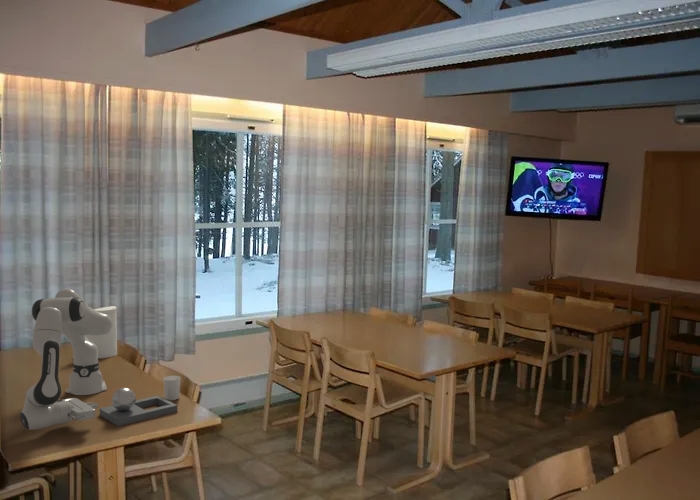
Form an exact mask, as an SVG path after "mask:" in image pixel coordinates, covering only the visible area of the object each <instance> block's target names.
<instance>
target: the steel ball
mask: <svg viewBox="0 0 700 500" xmlns="http://www.w3.org/2000/svg"><path fill="white" fill-rule="evenodd" d="M136 400H137V398H136V394H135V392H134V391H133V389H131V388H128V387H121V388H118V389H116V390H115V391H114V392H113V394H112V397H111V404H112V406H114V407H115V408H116V409H117V410H120V411H126V410H129V409H130V408H132V407H133V405H134V404H135V401H136Z"/></svg>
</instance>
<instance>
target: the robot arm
mask: <svg viewBox="0 0 700 500" xmlns="http://www.w3.org/2000/svg"><path fill="white" fill-rule="evenodd" d="M94 309H95V308H92V307H90V306H89V305H87V304H86V302H85V300H83V298H82V297H81V296H80V294H78V293H77V292H76V291H74V290H73V289H71V288H62V289H60V290H59V291H58V292H56V294H55V296H54V297H52V298H39V299H38V300H36V301H34V303H33V304H32V307H31V315H32V319H33V320H35V323H34V328H33V334H32V346H33V349H34V350H35V351H36V352H37V353H38V354H39V355H40V356H41V369H40V378H39V380H38V381H37V383H35V384H33V385H31V386H29V388H28V389H27V390H26V393H25V399H24V405H23V409H22V410H21V411H20V415H19V417H20V418H19V419H20V422H21V425H22V427H24V428H25V429H26V430H29V431H31V430H41V429H45V428H46V429H47V428H48V427H51V426H58V425H63V424H66V423H70V422H72V420H75V421H86V420H92V419H94V418H95V417H96V409H98V408H99V404H98V403H96V402H83V401H82V400H80V399H79V398H77V397H70V398H65V399H64V398H63V399H61V395H62V385H61V383H60V379H59V367H60V366H59V364H60V351H61V350H60V349H61V343H62V337H63V335H64V336H65V338H66V339H67V340H68V341H69V343H70V344H71V347H72V355H73V363H72V373H71V374H70V375H69V387H68V388H67V389H66V390H65V393H67V394H71V395H74V396H75V395H76V396H91V395H95V394H98V393H102V392H104V391H107V384H106V381H105V380H104V379H103V373H102V372H101V371H100V362H99V360H98V359H99V358H98V348H97V346H96V345H95V344H94V343H93V342H91V341H89V340H88V339H87V337H86V335H89V336H98V335H104V334H108V333H109V332H110V330H111V329H112V325H113V323H112V319H111V317H110V316H109V315H107V314H103V313H100V312H98V311H96V310H94Z"/></svg>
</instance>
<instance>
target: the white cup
mask: <svg viewBox="0 0 700 500" xmlns="http://www.w3.org/2000/svg"><path fill="white" fill-rule="evenodd" d="M163 391H164V399H166V400H168V401H176V399H177V400H179V399H180V394H181V393H180V392H181V376H179V375H167V376H165V377H163Z"/></svg>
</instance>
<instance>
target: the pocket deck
mask: <svg viewBox="0 0 700 500" xmlns="http://www.w3.org/2000/svg"><path fill="white" fill-rule="evenodd" d="M156 405H158V407H154V408H149V409H146V410H145V409H144V408H146V407H151V406H156ZM177 412H178V404H176V403H173V402H172V401H171V400H166V399H165V397H161V396H160V395H154V396H149V397H146V398H141V399H136V401H135V404H134V405H133V407H132V408H130V409H129V410H126V411H120V410H117V409H116V408H115V407H114V406H113V405H109V406H106V407H105V406H104V407H101V408H99V416H100V417H102V418H104V419H105V420H107V421H109V422H110V423H112V424H113V425H115V426H117V427H121V426H125V425H129V424H133V423H137V422H141V421H145V420H150V419H154V418H157V417H162V416H166V415H170V414H174V413H177Z"/></svg>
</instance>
